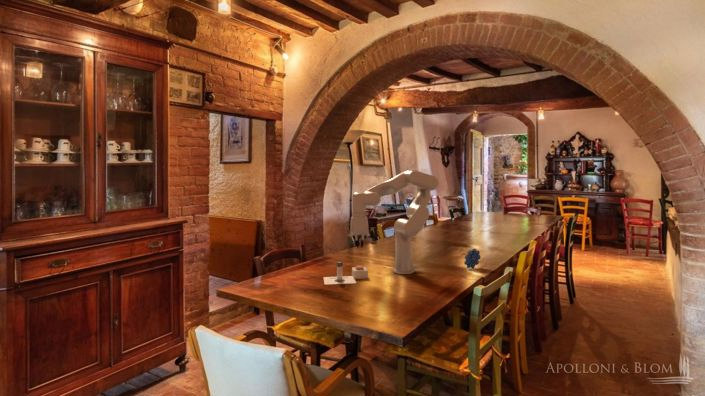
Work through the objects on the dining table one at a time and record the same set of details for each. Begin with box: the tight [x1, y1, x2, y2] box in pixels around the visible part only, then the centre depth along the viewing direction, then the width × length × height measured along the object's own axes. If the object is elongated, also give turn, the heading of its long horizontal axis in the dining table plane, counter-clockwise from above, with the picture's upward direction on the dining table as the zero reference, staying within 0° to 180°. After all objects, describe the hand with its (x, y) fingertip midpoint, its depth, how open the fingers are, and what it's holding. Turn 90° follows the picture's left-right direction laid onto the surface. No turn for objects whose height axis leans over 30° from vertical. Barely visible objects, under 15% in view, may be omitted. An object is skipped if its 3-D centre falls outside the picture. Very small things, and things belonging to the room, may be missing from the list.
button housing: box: [351, 266, 369, 280], centre depth 234 cm, size 8×8×4 cm
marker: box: [336, 261, 344, 281], centre depth 225 cm, size 3×3×10 cm
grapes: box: [464, 248, 482, 269], centre depth 251 cm, size 12×7×12 cm, turn 112°
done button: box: [355, 265, 364, 270], centre depth 234 cm, size 4×4×3 cm
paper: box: [323, 275, 357, 286], centre depth 227 cm, size 17×14×1 cm
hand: (359, 246), depth 233 cm, fingers closed
